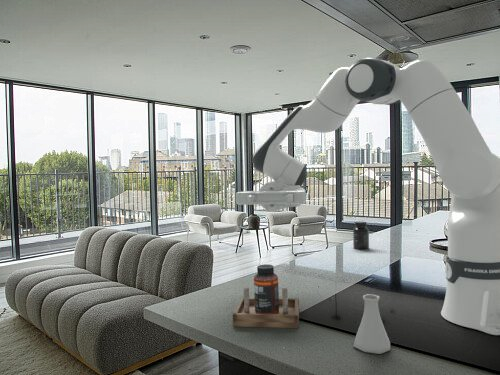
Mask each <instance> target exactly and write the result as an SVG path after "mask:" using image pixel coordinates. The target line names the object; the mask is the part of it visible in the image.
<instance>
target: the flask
mask: <svg viewBox="0 0 500 375" xmlns="http://www.w3.org/2000/svg"><path fill="white" fill-rule="evenodd" d="M362 300H363V302H364V307H363V308H364V309H363V314H362V315H363V316H362V317H361V322H360V324H359V327H358V330H357V332H356V335H355V338H354V342H353V346H352V347H353V348H356V349H358V350H359V351H362V352H364V353H369V354H379V355H381V354H384V353H386V352H389V351H391V341H390V339H389V337H388V334H387V331H386V329H385V326H384V323H383V320H382V318H381V315H380V309H379V301H380V295H377V294H371V293H370V294H369V293H367V294H363V296H362Z"/></svg>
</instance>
